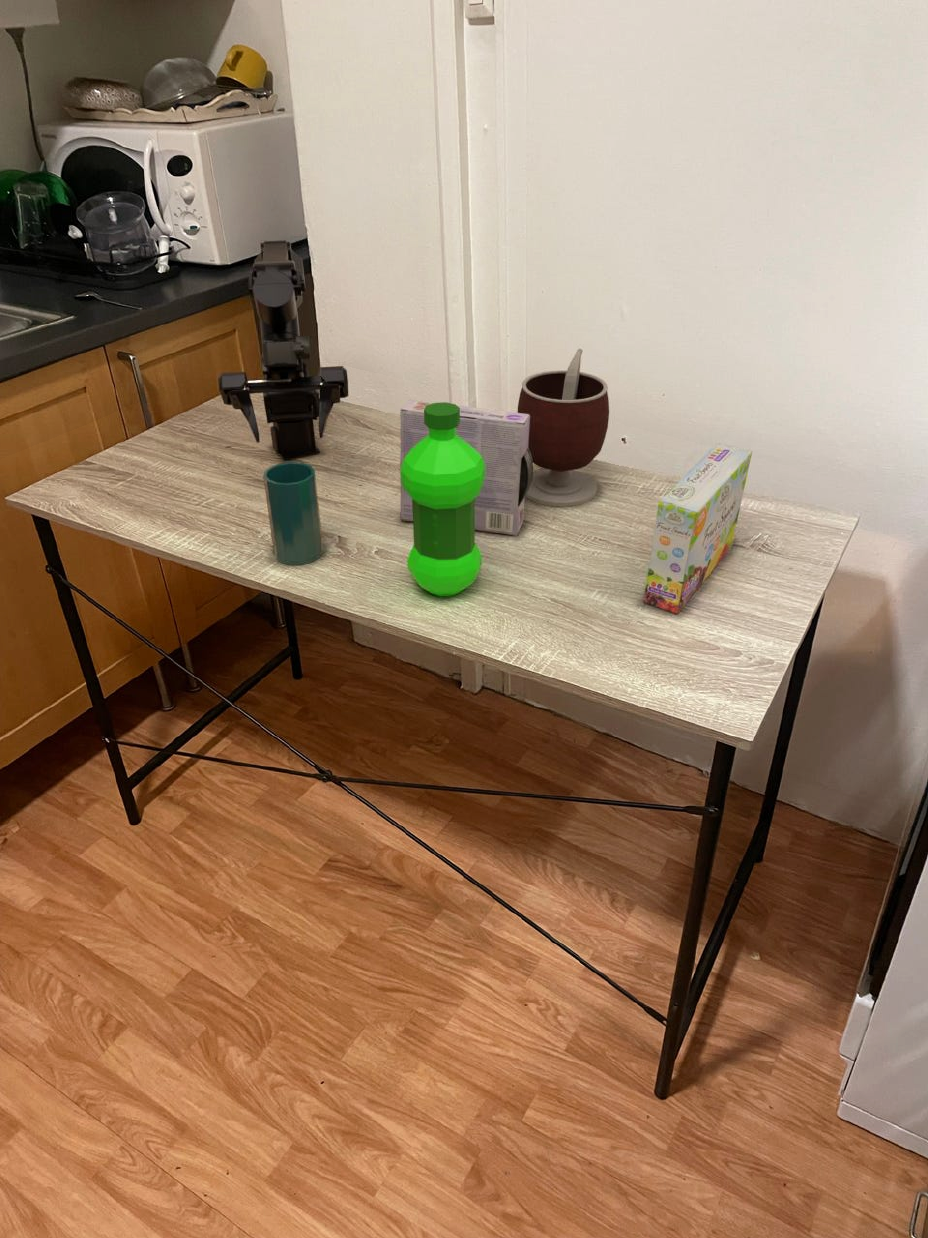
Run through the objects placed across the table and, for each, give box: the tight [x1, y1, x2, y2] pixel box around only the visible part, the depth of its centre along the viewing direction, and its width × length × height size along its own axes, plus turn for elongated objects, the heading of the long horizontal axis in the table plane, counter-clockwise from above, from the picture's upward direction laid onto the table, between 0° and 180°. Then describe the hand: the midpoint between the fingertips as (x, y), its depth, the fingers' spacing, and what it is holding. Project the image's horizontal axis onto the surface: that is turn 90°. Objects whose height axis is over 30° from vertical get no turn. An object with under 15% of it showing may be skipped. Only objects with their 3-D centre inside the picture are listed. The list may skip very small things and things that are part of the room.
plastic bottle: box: [399, 401, 485, 597], centre depth 116 cm, size 10×10×25 cm
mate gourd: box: [517, 348, 610, 508], centre depth 142 cm, size 16×14×20 cm
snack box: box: [642, 443, 753, 614], centre depth 121 cm, size 21×6×15 cm, turn 148°
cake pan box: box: [399, 399, 534, 537], centre depth 133 cm, size 19×5×18 cm, turn 75°
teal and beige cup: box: [262, 461, 324, 566], centre depth 127 cm, size 7×7×12 cm
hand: (289, 439), depth 136 cm, fingers open, 9 cm apart
